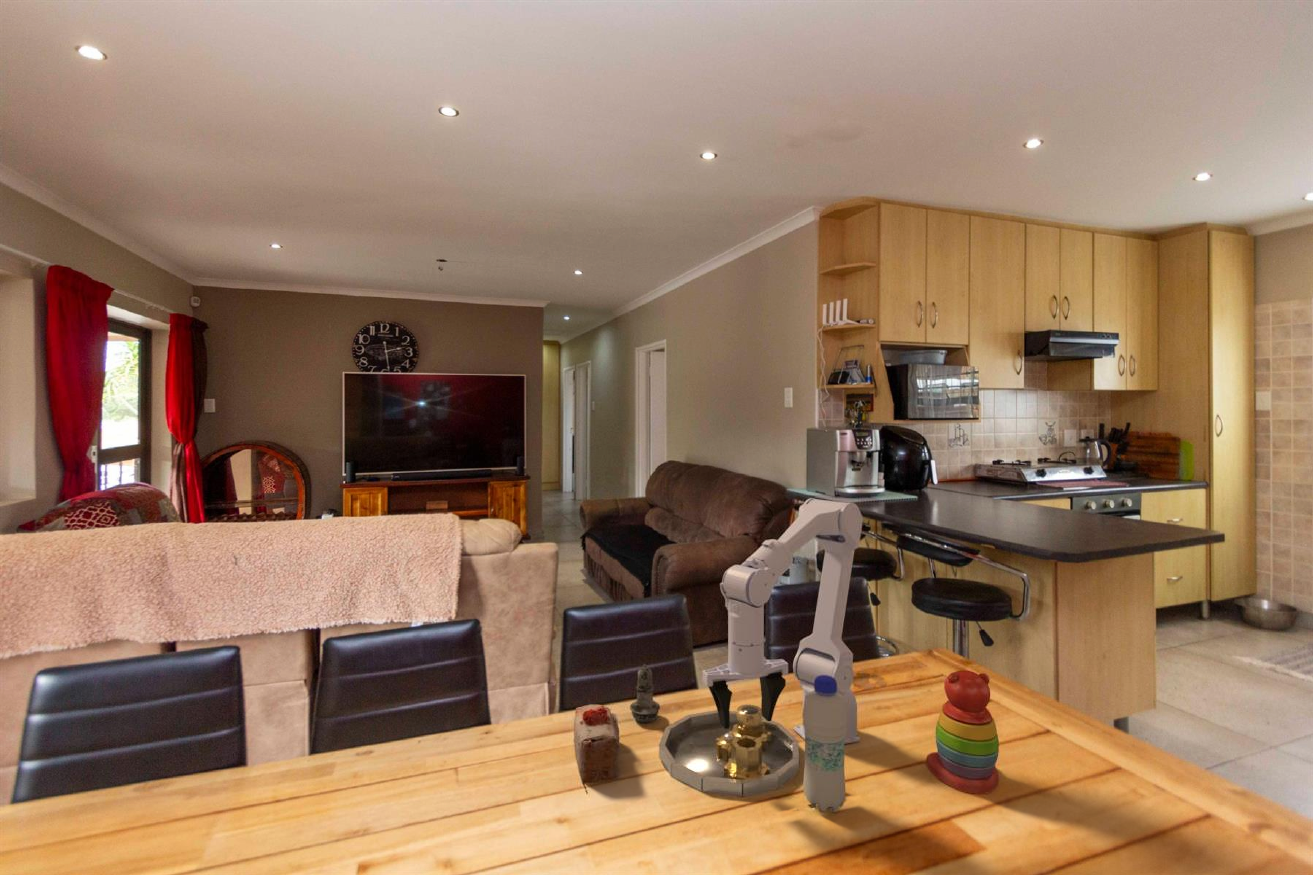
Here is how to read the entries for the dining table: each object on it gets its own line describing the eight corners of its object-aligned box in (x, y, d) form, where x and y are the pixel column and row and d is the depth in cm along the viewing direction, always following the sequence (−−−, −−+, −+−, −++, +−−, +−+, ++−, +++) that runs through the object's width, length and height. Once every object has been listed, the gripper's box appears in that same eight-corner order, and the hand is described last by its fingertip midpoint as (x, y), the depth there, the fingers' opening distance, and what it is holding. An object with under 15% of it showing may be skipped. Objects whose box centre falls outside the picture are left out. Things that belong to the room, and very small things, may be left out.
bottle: (847, 795, 101) (848, 670, 100) (845, 821, 94) (846, 688, 93) (804, 787, 103) (804, 665, 102) (799, 812, 96) (800, 682, 96)
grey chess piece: (661, 717, 126) (661, 658, 126) (658, 732, 120) (658, 670, 120) (632, 716, 127) (631, 657, 126) (627, 731, 121) (627, 669, 120)
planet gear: (774, 769, 106) (774, 737, 105) (761, 792, 99) (761, 758, 99) (733, 759, 109) (733, 728, 109) (717, 780, 103) (718, 747, 102)
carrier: (758, 718, 126) (758, 685, 125) (828, 786, 103) (828, 745, 103) (642, 738, 118) (642, 703, 118) (689, 816, 95) (689, 772, 95)
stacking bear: (988, 762, 110) (990, 661, 109) (1012, 798, 100) (1014, 686, 99) (923, 758, 111) (924, 657, 111) (939, 792, 101) (941, 682, 101)
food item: (570, 748, 115) (570, 695, 115) (614, 743, 117) (614, 690, 116) (579, 792, 102) (578, 732, 101) (628, 785, 104) (627, 726, 103)
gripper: (773, 627, 110) (773, 704, 110) (695, 637, 105) (695, 717, 106) (794, 641, 103) (794, 723, 103) (712, 652, 98) (712, 738, 99)
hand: (745, 722), depth 104 cm, fingers open, 7 cm apart
